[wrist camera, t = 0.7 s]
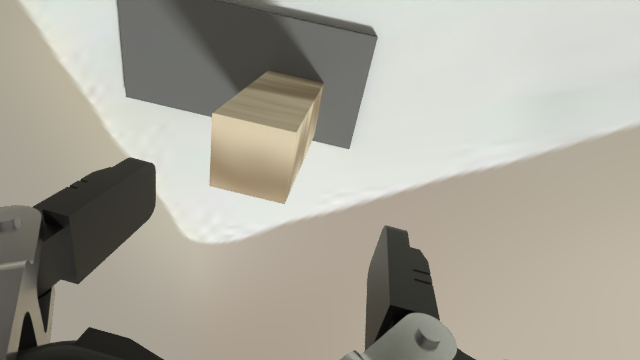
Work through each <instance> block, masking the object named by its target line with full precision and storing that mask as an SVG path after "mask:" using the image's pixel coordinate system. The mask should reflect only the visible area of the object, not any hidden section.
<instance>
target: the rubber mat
mask: <svg viewBox="0 0 640 360" xmlns="http://www.w3.org/2000/svg"><path fill="white" fill-rule="evenodd" d="M118 11H119V22H120V34H121V45H122V56H123V68H124V79H125V91H126V97H129V98H133V99H138V100H142V101H146V102H150V103H155V104H159V105H163V106H167V107H172V108H176V109H180V110H184V111H189V112H193V113H197V114H201V115H206V116H210V117H212V113H213V112H214V111H216V110H217V109H218V108H220V107H221V106H222V105H224V104H225V103H226V102H228V101H229V100H230V99H231V98H233V97H234V96H235V95H237V94H238V93H239V92H241V91H242V90H243V89H245V88H246V87H247V86H249V85H250V84H251V83H253V82H254V81H255V80H257V79H258V78H259V77H260V76H262V75H263V74H264V73H266V72H267V71H273V72H277V73H281V74H286V75H290V76H295V77H299V78H303V79H308V80H312V81H316V82H321V83H324V87H323V92H322V97H321V102H320V107H319V112H318V118H317V123H316V128H315V133H314V137H313V139H312V141H317V142H321V143H325V144H329V145H334V146H338V147H342V148H346V149H349V148H350V144H351V140H352V136H353V132H354V128H355V124H356V120H357V116H358V112H359V108H360V104H361V100H362V97H363V93H364V89H365V85H366V81H367V77H368V73H369V69H370V65H371V61H372V57H373V53H374V49H375V45H376V41H377V36H373V35H369V34H364V33H360V32H355V31H351V30H346V29H342V28H337V27H333V26H328V25H324V24H319V23H315V22H310V21H306V20H301V19H297V18H292V17H288V16H283V15H279V14H274V13H270V12H265V11H261V10H256V9H252V8H247V7H243V6H239V5H234V4H230V3H225V2H221V1H216V0H118Z"/></svg>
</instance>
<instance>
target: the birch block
mask: <svg viewBox="0 0 640 360" xmlns="http://www.w3.org/2000/svg"><path fill="white" fill-rule="evenodd" d="M323 87H324V83H321V82H316V81H312V80H308V79H303V78H299V77H295V76H290V75H286V74H281V73H277V72H273V71H267V72H266V73H264V74H263V75H262V76H260V77H259V78H258V79H257V80H255V81H254V82H253V83H251V84H250V85H249V86H247V87H246V88H245V89H243V90H242V91H241V92H239V93H238V94H237V95H235V96H234V97H233V98H231V99H230V100H229V101H228V102H226V103H225V104H224V105H222V106H221V107H220V108H218V109H217V110H216V111H214V112H213V113H212V135H211V162H210V186H212V187H216V188H220V189H224V190H229V191H233V192H237V193H241V194H245V195H249V196H253V197H258V198H262V199H266V200H270V201H274V202H278V203H282V204H285V202H286V199H287V197H288V195H289V192H290V190H291V188H292V185H293V183H294V181H295V178H296V176H297V174H298V172H299V169H300V167H301V165H302V162H303V160H304V158H305V155H306V153H307V151H308V148H309V146H310V144H311V142H312V139H313V137H314V133H315V128H316V123H317V118H318V112H319V107H320V102H321V97H322V92H323Z"/></svg>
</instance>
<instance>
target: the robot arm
mask: <svg viewBox="0 0 640 360" xmlns="http://www.w3.org/2000/svg"><path fill="white" fill-rule="evenodd" d="M155 200H156V170H155V166H154V164H153V163H150V162H146V161H142V160H138V159H135V158H127V159H125V160H124V161H122V162H120V163H119V164H117V165H115V166H114V167H109V168H106V169H102V170H98V171H95V172H92V173H91V174H89V175H87V176H85V177H84V178H82V179H81V181H77V182H75V183H73V184H72V185H70V187H66V188H65V189H63V190H61V191H59V192H58V193H56V194H54V195H52V196H51V197H49V198H47V199H46V200H44V201H42V202H41V203H38V204H37V205H35V206H33V207H29V206H20V205H14V206H4V207H0V360H164V359H162V358H160V357H158V356H157V355H155V354H154V353H152V352H150V351H149V350H147V349H146V348H144V347H143V346H141V345H139V344H138V343H136V342H135V341H133V340H131V339H129V338H126V337H122V336H119V335H115V334H112V333H108V332H105V331H101V330H97V329H93V328H90V327H89V328H88V329H87V330H86V331H85V332H84V333H83V334H82V335H81V337H80V338H79V339H78V340H77V341H61V342H55V343H50V337H51V326H52V317H53V307H54V298H55V289H54V285H55V284H56V283H57V282H58V281H59V280H60V279H61V280H65V281H68V282H72V283H76V284H79V283H80V282H81V281H82V280H83V279H84V278H85V277H86V276H87V275H89V274H90V273H91V272H92V271H93V270H94V269H95V268H96V267H97V266H98V265H100V264H101V263H102V262H103V261H104V260H105V259H106V258H107V257H108V256H109V255H110V254H112V253H113V252H114V251H115V250H116V249H117V248H118V247H119V246H120V245H121V244H122V243H123V242H125V241H126V240H127V239H128V238H129V237H130V236H131V235H132V234H133V233H134V232H135V231H136V230H138V229H139V228H140V227H141V226H142V225H143V224H144V223H145V222H146V221H147V220H148V219H149V218H150V217H151V215H152V213H153V211H154V208H155V202H156V201H155ZM340 360H475V359H473V358H472V357H470V356H468V355H466V354H465V353H463V352H462V351H461V350H459V349H458V348H457V344H456V340H455V338H454V336H453V334H452V333H451V331H450V330H449V329H448V328H447V327H446V326H445V325H444V324H443V323H442V322H440V319H439V314H438V309H437V304H436V299H435V294H434V289H433V286H432V279H431V276H430V269H429V265H428V261H427V260H426V258H425V257H424V255H423V254H422V252H421V251H420V250H419V249H415V248H411V247H410V245H409V238H408V232H407V231H405V230H401V229H398V228H394V227H390V226H386V225H385V226H384V228H383V230H382V232H381V235H380V238H379V241H378V244H377V246H376V249H375V252H374V255H373V257H372V260H371V263H370V267H369V272H368V278H367V304H366V333H365V351H364V352H363V353H362V354H359V353H357V352H356V351H351V352H349V353H348V354H346V355H345V356H344V357H343V358H341V359H340Z"/></svg>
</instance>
